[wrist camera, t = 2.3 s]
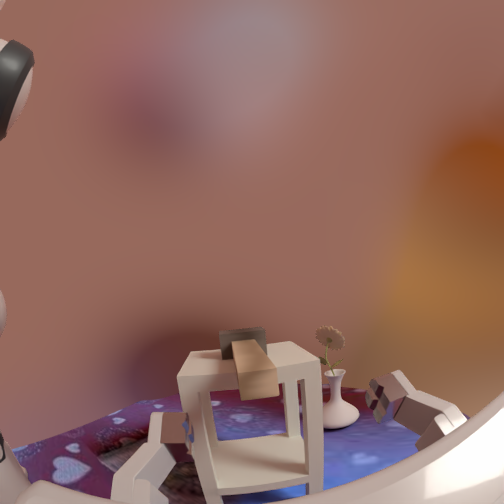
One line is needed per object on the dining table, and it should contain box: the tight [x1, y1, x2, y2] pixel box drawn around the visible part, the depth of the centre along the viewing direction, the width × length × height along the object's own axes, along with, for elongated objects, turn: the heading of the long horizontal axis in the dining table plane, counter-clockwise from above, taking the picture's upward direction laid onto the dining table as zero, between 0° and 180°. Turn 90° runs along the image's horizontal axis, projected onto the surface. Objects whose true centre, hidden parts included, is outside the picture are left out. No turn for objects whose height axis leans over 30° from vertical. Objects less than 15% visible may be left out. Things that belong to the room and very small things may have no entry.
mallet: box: [219, 327, 279, 401], centre depth 28 cm, size 6×18×4 cm, turn 6°
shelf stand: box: [177, 341, 324, 504], centre depth 32 cm, size 16×14×26 cm
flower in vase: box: [316, 325, 359, 429], centre depth 56 cm, size 13×11×25 cm
